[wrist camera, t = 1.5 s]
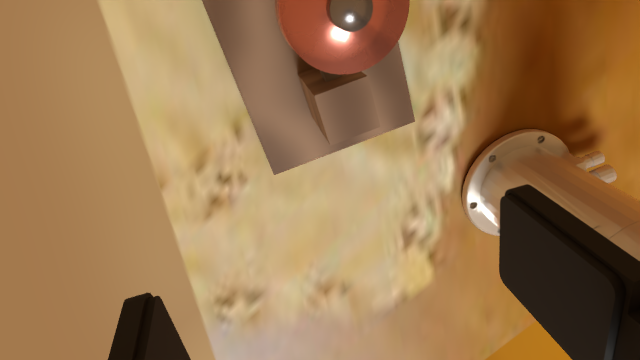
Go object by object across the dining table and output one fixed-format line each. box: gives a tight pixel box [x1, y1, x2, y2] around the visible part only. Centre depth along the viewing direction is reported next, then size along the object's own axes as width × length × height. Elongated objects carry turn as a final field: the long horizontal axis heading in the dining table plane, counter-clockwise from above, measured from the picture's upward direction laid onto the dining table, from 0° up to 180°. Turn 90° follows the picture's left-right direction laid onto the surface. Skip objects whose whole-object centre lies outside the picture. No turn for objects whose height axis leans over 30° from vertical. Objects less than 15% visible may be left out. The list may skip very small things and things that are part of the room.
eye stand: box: [202, 0, 415, 175], centre depth 33 cm, size 14×20×8 cm
